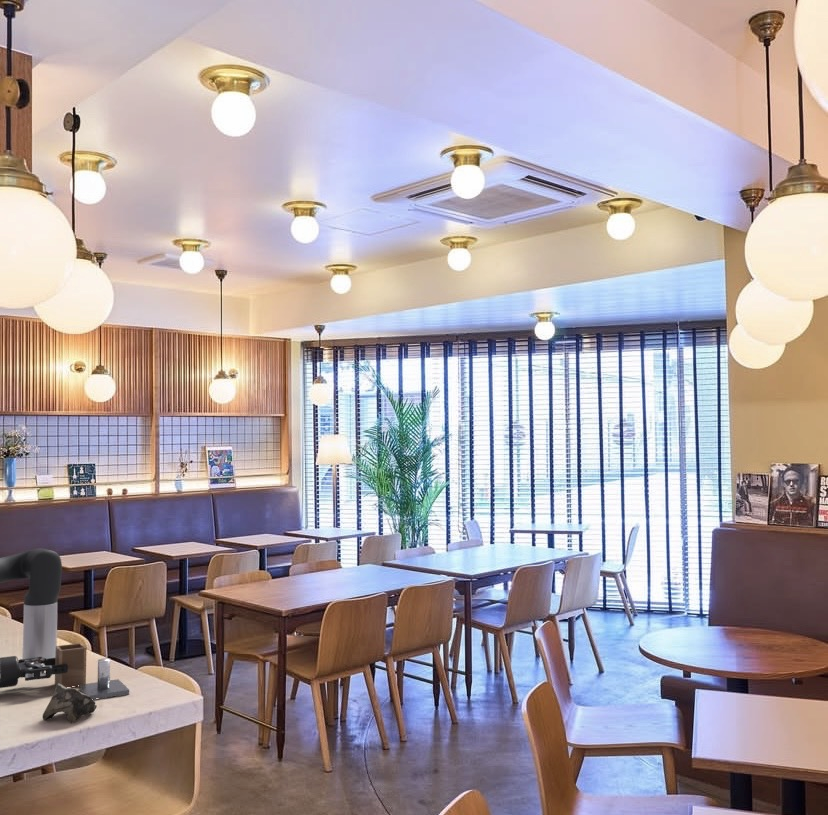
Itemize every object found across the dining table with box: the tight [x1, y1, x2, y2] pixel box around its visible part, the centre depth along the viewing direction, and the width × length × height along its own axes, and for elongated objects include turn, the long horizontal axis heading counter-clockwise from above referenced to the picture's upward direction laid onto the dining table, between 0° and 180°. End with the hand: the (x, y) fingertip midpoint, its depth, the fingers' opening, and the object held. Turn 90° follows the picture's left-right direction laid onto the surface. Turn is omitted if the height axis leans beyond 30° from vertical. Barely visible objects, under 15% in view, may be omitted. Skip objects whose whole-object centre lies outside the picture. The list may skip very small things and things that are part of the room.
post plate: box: [78, 657, 130, 699], centre depth 212 cm, size 12×10×8 cm
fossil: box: [42, 684, 98, 724], centre depth 190 cm, size 11×9×10 cm
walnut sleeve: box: [54, 642, 88, 688], centre depth 219 cm, size 7×7×10 cm
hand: (64, 664), depth 218 cm, fingers open, 8 cm apart
